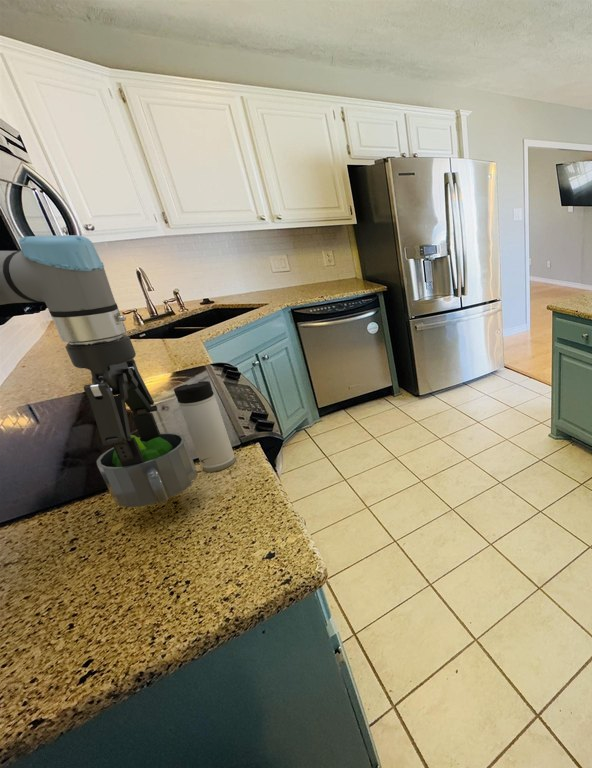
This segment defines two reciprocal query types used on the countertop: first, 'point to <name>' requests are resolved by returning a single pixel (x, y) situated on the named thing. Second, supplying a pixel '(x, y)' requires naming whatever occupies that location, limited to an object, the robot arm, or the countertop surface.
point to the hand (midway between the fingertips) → (146, 458)
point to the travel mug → (205, 425)
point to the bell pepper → (148, 449)
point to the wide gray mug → (150, 475)
